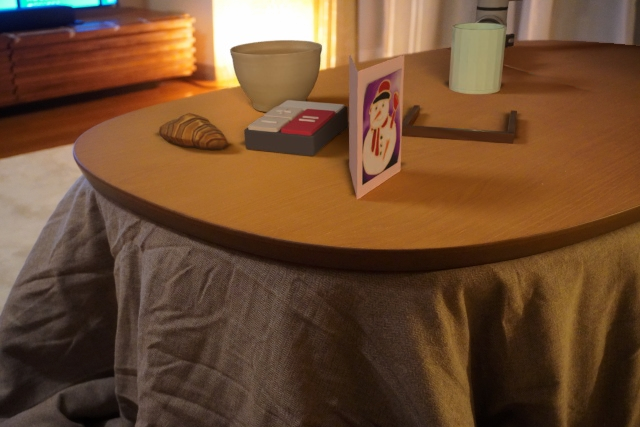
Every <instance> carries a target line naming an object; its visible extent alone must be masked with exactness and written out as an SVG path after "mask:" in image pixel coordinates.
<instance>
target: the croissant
mask: <svg viewBox="0 0 640 427" xmlns="http://www.w3.org/2000/svg"><path fill="white" fill-rule="evenodd" d="M158 129H159V130H158V132H159V135H160V137H161V138H162V139H164V140H165V141H167V142H169V143H172V144H174V145H176V146H179V147H185V148H193V149H199V150H206V151H207V150H210V151H220V150H225V149H227V148H228V139H227V137H226V135H225V134H224V133H223V131H221V130H220V129H219V128H218V127H217V126H216V125H214V124H212V122H211V121H210V120H209V119H208V118H206V117H204V116H202V115H198V114H195V113H191V112H187V113H185V114H183V115H180V116H179V117H178V118H175V119H171V120H168V121H167V122H165V123H164V124H162V125H161V126H160V127H159V128H158Z"/></svg>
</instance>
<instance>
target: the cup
mask: <svg viewBox="0 0 640 427" xmlns="http://www.w3.org/2000/svg"><path fill="white" fill-rule="evenodd" d="M451 28H452V30H451V44H450V46H451V47H450V61H449V62H450V63H449V77H448V78H449V79H448V89H449V90H450V91H452V92H455V93H458V94H466V95H491V94H495V93H498V92H499V91H501V86H502V78H503V70H504V68H503V67H504V59H505V58H504V57H505V50H506V48H505V39H506V34H507V30H508V29H507V28H508V26H507V27H506V26H505V25H502V24H494V23H475V22H463V23H456V24H453V25H452V27H451ZM506 29H507V30H506Z"/></svg>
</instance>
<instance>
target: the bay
mask: <svg viewBox="0 0 640 427" xmlns="http://www.w3.org/2000/svg"><path fill="white" fill-rule="evenodd" d="M420 109H421V105H419V104H414V105H413V106H412V108H411V109H410V110H409V112H408V113H407V115H406V116H405V118H404V119H402V137H412V138H413V137H414V138H416V137H417V138H427V139H442V140H455V141H456V140H458V141H471V142H482V143H483V142H485V143H498V144H500V143H501V144H514V143H515V142H514V141H515V134H516V124H517V117H518V116H517V115H518V110H512V109H511V110H510V113H509V118H508V126H507V131H505V130H504V131H503V130H490V129H489V130H487V129H475V128H474V129H471V128H457V127H441V126H426V125H425V126H424V125H413V124H414V123H415V121H416V120H417V118H418V117H419V115H420V113H421V112H420V111H421V110H420Z"/></svg>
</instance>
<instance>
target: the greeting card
mask: <svg viewBox="0 0 640 427" xmlns="http://www.w3.org/2000/svg"><path fill="white" fill-rule="evenodd" d="M348 54H349V55H348V98H349V99H348V105H349V106H348V167H349V172H350V176H351V181H352V185H353V190H354V193H355V197H356V200H358V201H359V200H360V199H361V198H362V197H364V196H365V195H367V194H368V193H370V192H371V191H373V190H374V189H376V188H377V187H379V186H380V185H381V184H383V183H384V182H386V181H388V180H389V179H391V178H392V177H393V176H395V175H396V174H398V173H399V172H400V171H401V167H402V166H401V164H402V137H403V136H402V122H403V110H404V109H403V106H404V76H405V54H402V55H399V56H397V57H393V58H390V59H388V60H385V61H382V62H380V63H377V64H374V65H371V66H368V67H366V68H363V69H360V70H358V68H357V66H356V63H355V62H354V60H353V57H352V56H351V54H350V52H349V53H348Z"/></svg>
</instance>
